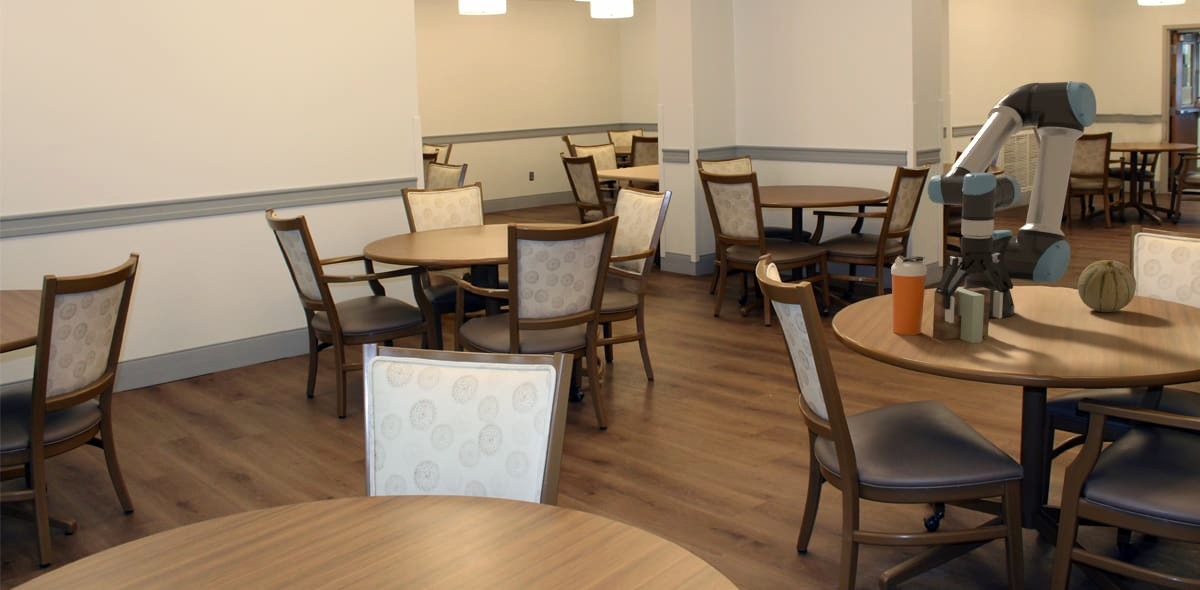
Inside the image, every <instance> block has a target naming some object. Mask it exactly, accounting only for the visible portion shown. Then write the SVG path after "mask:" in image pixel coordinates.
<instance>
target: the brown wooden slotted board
mask: <svg viewBox="0 0 1200 590" xmlns="http://www.w3.org/2000/svg"><path fill="white" fill-rule="evenodd" d="M967 290H969V291H973V292H976V293H979V294H982V295H984V313H983V333H982V337H985V336H989V325H990V324H989V321H990V318H989V307H990V289H987V288H971V289H967ZM952 297H955V299H954V323H950V322H947V321H945V309H944V308H943V296H942V295H940V294H938V293H936V290H935V291H934V298H933V299H934V301H933V321H932V323H933V324H932V326H933V327H932V337H933V338H934V339H936V340H939V341H940V340H951V339H960V336H961V315H958V314H957V308H958V292H956V291H955V292H954V293H953V295H952Z"/></svg>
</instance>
